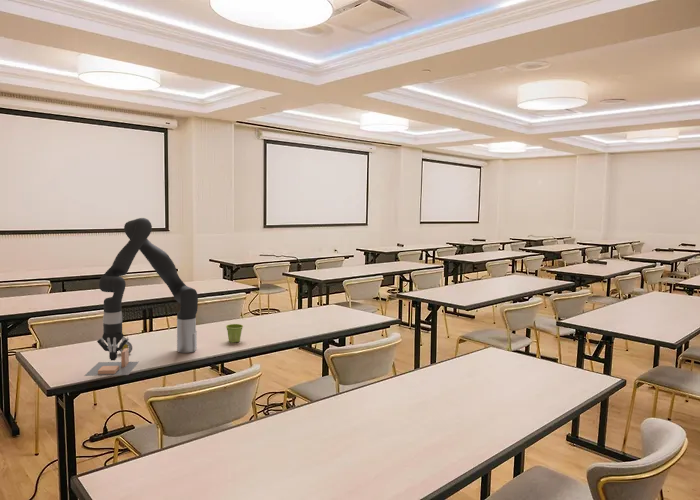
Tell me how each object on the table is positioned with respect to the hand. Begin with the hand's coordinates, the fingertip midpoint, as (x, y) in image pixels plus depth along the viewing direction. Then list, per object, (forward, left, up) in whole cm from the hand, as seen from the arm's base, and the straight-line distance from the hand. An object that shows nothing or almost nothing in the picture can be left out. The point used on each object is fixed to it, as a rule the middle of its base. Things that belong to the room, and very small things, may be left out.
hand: (113, 359), depth 221 cm
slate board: (+2, -5, -7) cm, 8 cm away
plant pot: (-48, -50, -7) cm, 70 cm away
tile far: (-2, -9, -5) cm, 11 cm away
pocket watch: (+3, -24, -7) cm, 25 cm away
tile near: (-2, 0, -4) cm, 5 cm away
